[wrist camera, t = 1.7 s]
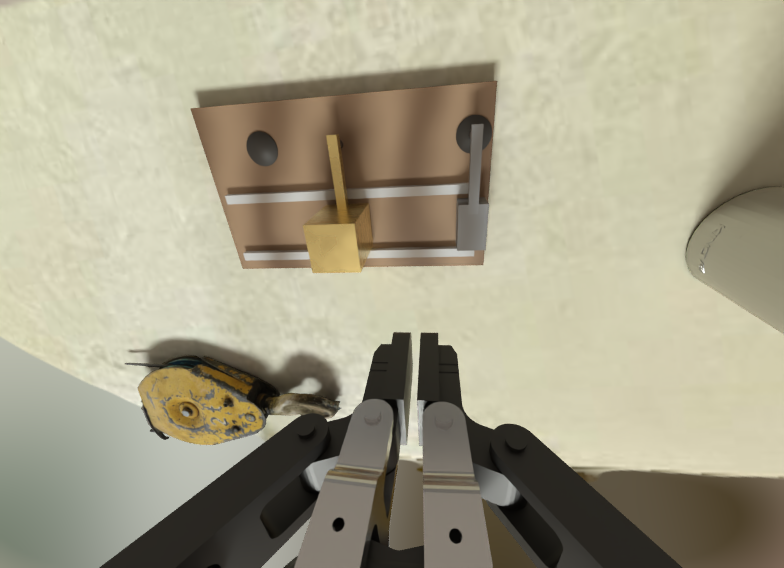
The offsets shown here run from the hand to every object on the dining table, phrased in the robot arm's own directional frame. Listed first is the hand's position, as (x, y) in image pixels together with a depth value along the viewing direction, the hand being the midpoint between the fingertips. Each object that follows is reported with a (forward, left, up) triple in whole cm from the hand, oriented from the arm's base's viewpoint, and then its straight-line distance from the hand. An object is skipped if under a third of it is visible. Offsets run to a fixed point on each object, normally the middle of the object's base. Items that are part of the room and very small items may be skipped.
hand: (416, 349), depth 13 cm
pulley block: (+27, +25, -20) cm, 41 cm away
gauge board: (+7, -3, -19) cm, 20 cm away
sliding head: (+7, -3, -18) cm, 19 cm away
